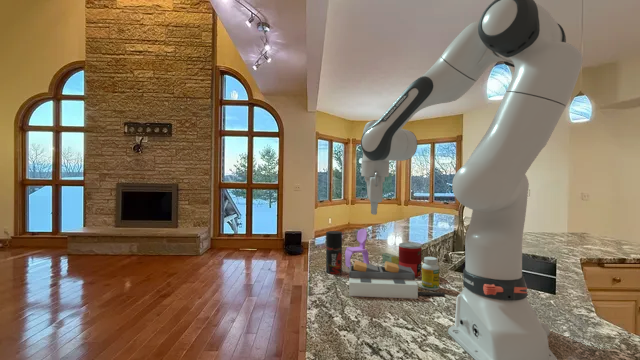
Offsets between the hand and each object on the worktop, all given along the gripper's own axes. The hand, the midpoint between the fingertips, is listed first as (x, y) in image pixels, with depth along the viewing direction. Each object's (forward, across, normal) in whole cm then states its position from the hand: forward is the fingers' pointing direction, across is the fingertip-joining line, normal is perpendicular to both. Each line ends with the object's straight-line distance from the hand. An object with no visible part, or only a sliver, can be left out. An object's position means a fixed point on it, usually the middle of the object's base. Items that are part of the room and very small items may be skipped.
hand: (373, 214), depth 102 cm
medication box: (+24, +27, -10) cm, 38 cm away
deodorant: (+25, +15, +14) cm, 32 cm away
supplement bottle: (+24, +1, -19) cm, 30 cm away
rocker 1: (+18, -1, -8) cm, 20 cm away
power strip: (+23, -3, -7) cm, 25 cm away
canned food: (+24, +15, -14) cm, 32 cm away
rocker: (+18, -1, +2) cm, 19 cm away
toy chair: (+25, +23, +5) cm, 34 cm away
